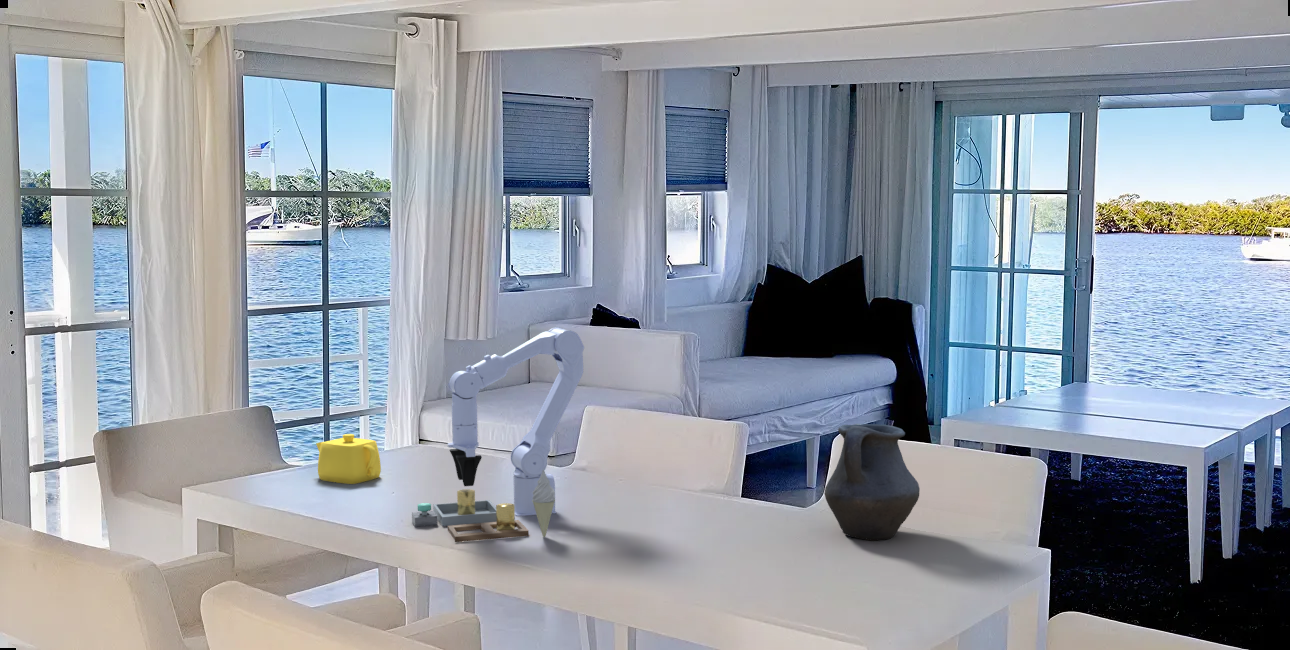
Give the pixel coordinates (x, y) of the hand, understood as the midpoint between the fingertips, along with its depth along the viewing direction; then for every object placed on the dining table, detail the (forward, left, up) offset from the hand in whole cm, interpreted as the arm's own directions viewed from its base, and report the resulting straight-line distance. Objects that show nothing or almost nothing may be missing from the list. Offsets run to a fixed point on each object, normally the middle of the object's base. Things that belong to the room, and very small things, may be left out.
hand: (465, 482), depth 297 cm
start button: (+10, +3, -7) cm, 13 cm away
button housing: (+10, +3, -8) cm, 13 cm away
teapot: (+22, -55, -9) cm, 60 cm away
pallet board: (-2, +15, -8) cm, 17 cm away
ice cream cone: (-13, +22, -9) cm, 27 cm away
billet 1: (0, 0, -8) cm, 8 cm away
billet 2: (-6, +15, -8) cm, 18 cm away
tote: (0, 0, -8) cm, 8 cm away
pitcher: (-80, +44, -9) cm, 92 cm away
